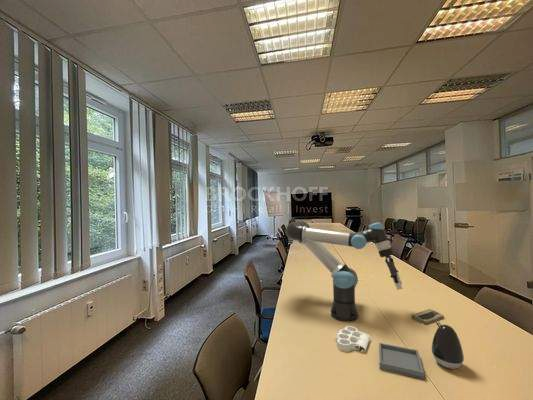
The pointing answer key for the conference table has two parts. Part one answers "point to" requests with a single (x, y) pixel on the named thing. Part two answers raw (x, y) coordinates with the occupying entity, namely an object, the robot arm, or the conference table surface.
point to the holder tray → (400, 360)
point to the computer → (427, 316)
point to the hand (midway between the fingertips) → (399, 286)
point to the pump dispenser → (447, 347)
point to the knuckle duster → (352, 339)
